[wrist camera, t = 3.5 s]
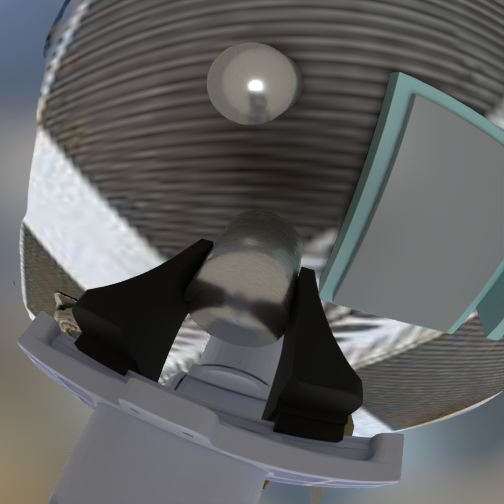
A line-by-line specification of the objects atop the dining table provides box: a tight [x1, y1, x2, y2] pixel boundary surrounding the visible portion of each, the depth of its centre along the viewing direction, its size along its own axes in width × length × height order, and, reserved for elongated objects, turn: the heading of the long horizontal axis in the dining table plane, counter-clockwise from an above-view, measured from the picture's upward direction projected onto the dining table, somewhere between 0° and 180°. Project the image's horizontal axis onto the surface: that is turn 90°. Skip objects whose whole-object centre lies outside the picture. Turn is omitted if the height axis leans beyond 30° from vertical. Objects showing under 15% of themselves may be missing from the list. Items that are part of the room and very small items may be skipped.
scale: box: [318, 72, 504, 340], centre depth 15 cm, size 18×17×6 cm
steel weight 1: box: [207, 42, 304, 125], centre depth 13 cm, size 4×4×5 cm
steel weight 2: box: [184, 211, 303, 347], centre depth 13 cm, size 4×4×5 cm
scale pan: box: [332, 94, 504, 332], centre depth 15 cm, size 16×12×1 cm
